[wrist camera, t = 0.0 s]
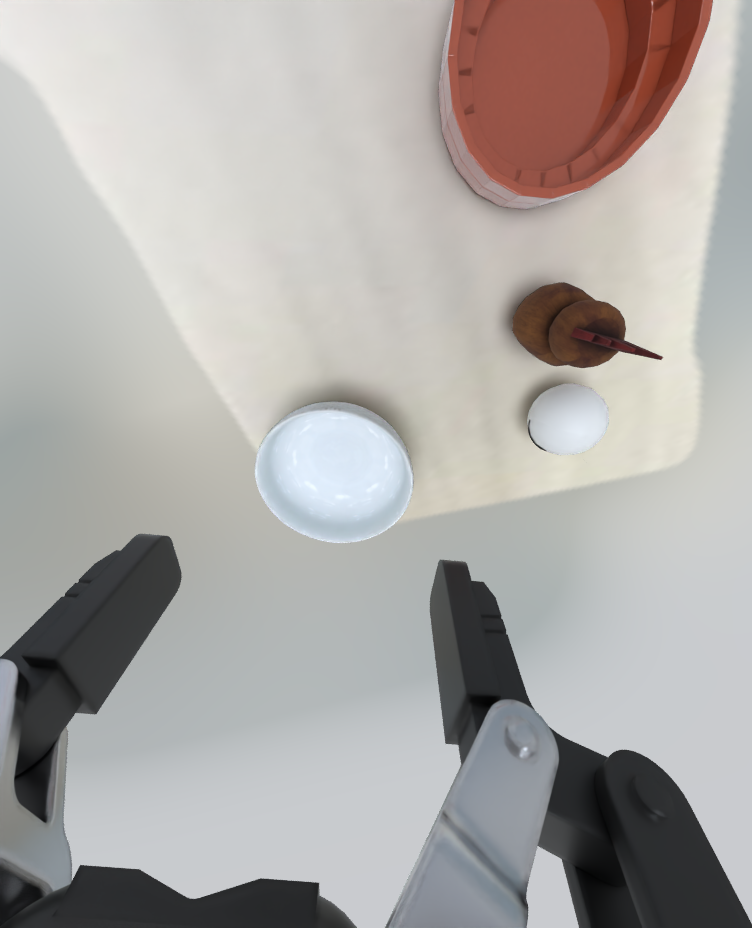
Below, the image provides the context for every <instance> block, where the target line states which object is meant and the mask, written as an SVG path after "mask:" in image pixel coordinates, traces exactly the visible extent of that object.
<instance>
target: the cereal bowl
mask: <svg viewBox="0 0 752 928" xmlns="http://www.w3.org/2000/svg"><path fill="white" fill-rule="evenodd" d="M255 478H256V483H257V486H258V489H259V491H260V494H261V496H262V498H263V500H264V502H265V503H266V505H267V506H268V508H269V509H270V510H271V511H272V512H273V514H274V515H275V516H276V517H277V518H279V520H281V521H282V522H283V523H284V524H285V525H287V526H289V527H290V528H292V529H293V530H295V531H297V532H299V533H301V534H303V535H305V536H308V537H310V538H313V539H317V540H321V541H326V542H335V543H349V542H356V541H362V540H365V539H369V538H372V537H374V536H377V535H379V534H381V533H382V532H384V531H386V530H387V529H389V528H390V527H391V526H393V525H394V524H395V523H396V522H397V521H398V520H399V519H400V517H401V516H402V515H403V513H404V512H405V510H406V508H407V506H408V504H409V502H410V499H411V496H412V491H413V484H414V480H413V469H412V464H411V460H410V456H409V454H408V451H407V449H406V447H405V444H404V443H403V441H402V439H401V437H400V436H399V435H398V433H397V432H396V431H395V430H394V428H392V426H391V425H389V423H388V422H386V421H385V420H384V419H383V418H381V417H380V416H378V415H377V414H375V413H374V412H372V411H370V410H368V409H365V408H364V407H360V406H358V405H354V404H350V403H345V402H321V403H314V404H310V405H306V406H305V407H302V408H299V409H297V410H295V411H294V412H292V413H290V414H288V415H287V416H285V417H284V418H283V419H281V420H280V421H279V422H278V423H277V424H276V425H275V426H274V427H273V428H272V429H271V430H270V431H269V432H268V434H267V435H266V437H265V438H264V439H263V441H262V443H261V445H260V447H259V450H258V453H257V457H256V462H255Z"/></svg>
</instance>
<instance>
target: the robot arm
mask: <svg viewBox="0 0 752 928" xmlns="http://www.w3.org/2000/svg"><path fill="white" fill-rule="evenodd" d="M180 582H181V570H180V566H179V563H178V559H177V556H176V553H175V550H174V547H173V543H172V540H171V538H170V537H168V536H160V535H150V534H138V535H136V536H135V537H134V538H133V539H132V540H131V541H130V542H129V543H128V544H127V545H126V546H125V547H124V548H123V549H122V550H121V551H117V550H116V551H114V552H113V553H111V554H110V555H108V556H106V557H105V558H103V559H102V560H100V561H98V562H97V563H95V564H94V565H93V566H92V567H91V568H90V569H89V570H88V571H87V572H86V573H85V574H84V575H83V576H82V577H81V578H80V579H79V582H78V583H75V584H74V585H73V586H72V587H71V588H70V589H69V590H68V591H67V592H66V593H65V596H64V597H61V598H60V599H59V600H58V601H57V602H56V603H55V604H54V605H53V606H52V607H51V608H50V609H49V610H48V611H47V612H46V613H45V614H44V615H43V616H42V617H41V618H40V619H39V620H38V621H37V622H36V623H35V624H34V625H33V626H32V627H31V628H30V629H29V630H28V631H27V632H26V633H25V634H24V635H23V636H22V637H21V638H20V639H19V640H18V641H17V642H16V643H15V644H14V645H13V646H12V647H11V648H10V649H9V650H8V651H6V652H5V653H4V654H3V655H2V656H1V657H0V928H357V927H356V926H355V925H354V924H353V923H352V921H351V920H350V919H349V918H348V917H347V916H346V914H345V913H344V912H343V911H341V910H340V909H339V908H338V907H337V906H335V905H334V904H333V903H332V902H330V901H328V900H326V899H325V898H323V897H321V896H319V883H312V882H301V881H287V880H274V879H258V880H255V881H251V882H248V883H245V884H242V885H239V886H236V887H233V888H230V889H226V890H223V891H220V892H217V893H214V894H211V895H208V896H204V897H201V898H197V899H189V898H187V897H185V896H183V895H181V894H180V893H178V892H176V891H175V890H173V889H171V888H170V887H168V886H166V885H165V884H163V883H161V882H160V881H158V880H156V879H154V878H152V877H151V876H149V875H148V874H146V873H144V872H143V871H141V870H139V869H125V868H112V867H99V866H84V865H80V867H79V869H78V871H77V872H76V875H75V877H74V878H73V880H72V860H71V852H70V847H69V843H68V840H67V838H66V835H65V831H64V817H63V816H64V800H65V781H66V763H67V745H68V730H67V727H66V726H67V724H68V723H69V721H70V720H71V719H72V717H73V716H74V714H75V713H86V714H97V712H98V711H99V709H100V707H101V706H102V704H103V703H104V701H105V700H106V698H107V697H108V695H109V694H110V692H111V691H112V689H113V688H114V686H115V685H116V683H117V682H118V680H119V679H120V677H121V676H122V674H123V673H124V671H125V670H126V668H127V667H128V665H129V664H130V662H131V661H132V659H133V658H134V656H135V655H136V653H137V651H138V650H139V649H140V647H141V645H142V644H143V642H144V641H145V639H146V638H147V637H148V635H149V633H150V632H151V630H152V629H153V627H154V626H155V624H156V623H157V621H158V620H159V618H160V617H161V615H162V614H163V612H164V611H165V609H166V608H167V606H168V604H169V603H170V602H171V600H172V599H173V597H174V596H175V594H176V593H177V591H178V588H179V586H180ZM430 616H431V625H432V633H433V642H434V650H435V659H436V667H437V675H438V684H439V692H440V701H441V709H442V717H443V726H444V734H445V743H446V744H457V745H459V752H460V759H461V767H460V769H459V771H458V773H457V775H456V777H455V779H454V782H453V784H452V786H451V788H450V790H449V792H448V794H447V797H446V799H445V801H444V803H443V805H442V807H441V810H440V812H439V814H438V816H437V818H436V820H435V822H434V824H433V827H432V829H431V831H430V833H429V836H428V837H427V839H426V842H425V844H424V846H423V848H422V850H421V852H420V854H419V857H418V859H417V861H416V863H415V865H414V867H413V869H412V871H411V873H410V875H409V877H408V879H407V882H406V884H405V886H404V888H403V890H402V892H401V894H400V896H399V899H398V901H397V903H396V905H395V907H394V909H393V911H392V914H391V916H390V918H389V920H388V922H387V924H386V927H385V928H526V926H527V920H528V904H527V900H526V892H527V886H528V881H529V877H530V873H531V869H532V865H533V861H534V857H535V853H536V850H537V846H539V847H541V848H543V849H545V850H546V851H548V852H550V853H552V854H554V855H556V856H558V857H559V858H561V859H562V862H563V866H564V869H565V874H566V877H567V881H568V885H569V889H570V893H571V897H572V901H573V905H574V909H575V913H576V917H577V921H578V925H579V928H752V924H751V922H750V920H749V918H748V916H747V914H746V912H745V910H744V909H743V906H742V904H741V902H740V901H739V899H738V897H737V895H736V893H735V891H734V889H733V887H732V885H731V884H730V881H729V880H728V878H727V876H726V874H725V872H724V870H723V868H722V866H721V864H720V862H719V860H718V858H717V856H716V854H715V853H714V851H713V849H712V847H711V845H710V843H709V841H708V839H707V837H706V835H705V833H704V832H703V829H702V828H701V826H700V824H699V822H698V820H697V818H696V816H695V814H694V812H693V810H692V808H691V806H690V805H689V803H688V801H687V799H686V798H685V796H684V794H683V793H682V791H681V790H680V789H679V787H678V786H677V784H676V783H675V782H674V781H673V780H672V778H670V776H669V775H668V774H667V773H666V772H665V771H664V770H663V769H661V768H660V767H659V766H658V765H657V764H656V763H654V762H653V761H651V760H650V759H648V758H647V757H645V756H643V755H641V754H639V753H636V752H634V751H629V750H619V751H616V752H614V753H612V754H611V755H610V756H609V757H606V756H604V755H601V754H599V753H597V752H594V751H592V750H590V749H588V748H586V747H584V746H581V745H579V744H577V743H575V742H572V741H570V740H568V739H566V738H564V737H562V736H561V735H559V734H557V733H556V732H555V731H554V730H552V729H551V728H550V727H549V726H548V725H547V724H546V722H545V721H544V720H543V718H542V717H541V716H540V715H539V714H538V713H537V712H536V711H535V710H534V708H533V707H532V705H531V703H530V701H529V698H528V696H527V694H526V690H525V687H524V684H523V681H522V678H521V675H520V672H519V669H518V666H517V663H516V659H515V656H514V653H513V650H512V647H511V644H510V641H509V638H508V635H506V629H505V625H504V622H503V620H502V619H501V613H500V610H499V607H498V605H497V601H496V598H495V596H494V595H493V594H492V593H491V591H490V590H489V589H488V587H487V586H486V585H485V583H484V582H477V581H471V577H470V573H469V570H468V566H467V564H466V562H461V561H449V560H440V561H439V563H438V567H437V571H436V575H435V579H434V583H433V587H432V591H431V597H430Z"/></svg>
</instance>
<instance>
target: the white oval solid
mask: <svg viewBox="0 0 752 928" xmlns="http://www.w3.org/2000/svg"><path fill="white" fill-rule="evenodd" d="M527 424H528V431H529V435H530V438H531V440H532V441H533V443H534V444H535V445H536V446H537V447H539V448H540V449H542V450H544V451H548V452H550V453H554V454H557V455H574V454H578V453H582V452H584V451H586V450H588V449H590V448H592V447H593V446H594V445H595V444H596V443H598V442H599V441H600V440H601V438H602V437H603V435H604V434H605V433H606V430H607V427H608V424H609V415H608V407H607V405H606V403H605V401H604V399H603V398H602V397H601V396H600V395H599V394H598V393H597V392H596V391H594V390H593V389H592V388H589V387H586V386H582V385H579V384H575V383H573V384H561V385H558V386H555V387H552V388H550V389H548V390H547V391H545V392H544V393H542V394H541V395H540V396H539V397H538V398H537V399H536V400H535V401H534V403H533V405H532V407H531V408H530V410H529V414H528V419H527ZM584 461H585V460H584Z"/></svg>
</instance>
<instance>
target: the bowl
mask: <svg viewBox="0 0 752 928" xmlns="http://www.w3.org/2000/svg"><path fill="white" fill-rule="evenodd" d="M712 3H713V0H454V4H453V8H452V12H451V16H450V21H449V25H448V29H447V33H446V37H445V41H444V47H443V55H442V63H441V72H440V80H439V88H438V95H439V105H440V114H441V124H442V133H443V137H444V139H445V142H446V144H447V147H448V150H449V152H450V155H451V158H452V160H453V163H454V165H455V168H456V169H457V171H458V172H459V173H460V174H461V175H462V177H463V178H464V179H465V180H466V182H467V183H468V184H469V185H470V186H471V188H472V189H473V190H474V191H475V192H476V193H477V194H479V195H481V196H482V197H484V198H486V199H488V200H490V201H492V202H493V203H495V204H497V205H499V206H501V207H511V208H522V209H531V208H535V207H538V206H542V205H545V204H549V203H552V202H556V201H559V200H561V199H564V198H566V197H568V196H571V195H573V194H576V193H578V192H580V191H583V190H585V189H587V188H589V187H591V186H592V185H594V184H595V183H597V182H598V181H600V180H601V179H603V178H604V177H606V176H608V175H609V174H611V173H612V172H614V171H615V170H617V169H618V168H620V167H621V166H622V165H624V164H625V163H626V162H627V161H628V160H629V158H630V157H631V156H632V155H633V154H634V153H635V152H636V151H637V150H638V149H639V148H640V147H641V146H642V145H643V144H644V143H645V141H646V140H647V139H648V138H649V137H650V136H651V135H652V134H653V133H654V132H655V131H656V130H657V128H658V127H659V125H660V124H661V122H662V120H663V119H664V117H665V116H666V114H667V112H668V111H669V109H670V107H671V106H672V104H673V103H674V101H675V99H676V98H677V96H678V94H679V93H680V91H681V90H682V88H683V86H684V85H685V83H686V81H687V79H688V77H689V74H690V72H691V69H692V66H693V64H694V61H695V59H696V56H697V53H698V51H699V48H700V45H701V43H702V40H703V37H704V35H705V32H706V29H707V27H708V24H709V21H710V15H711V9H712Z"/></svg>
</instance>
